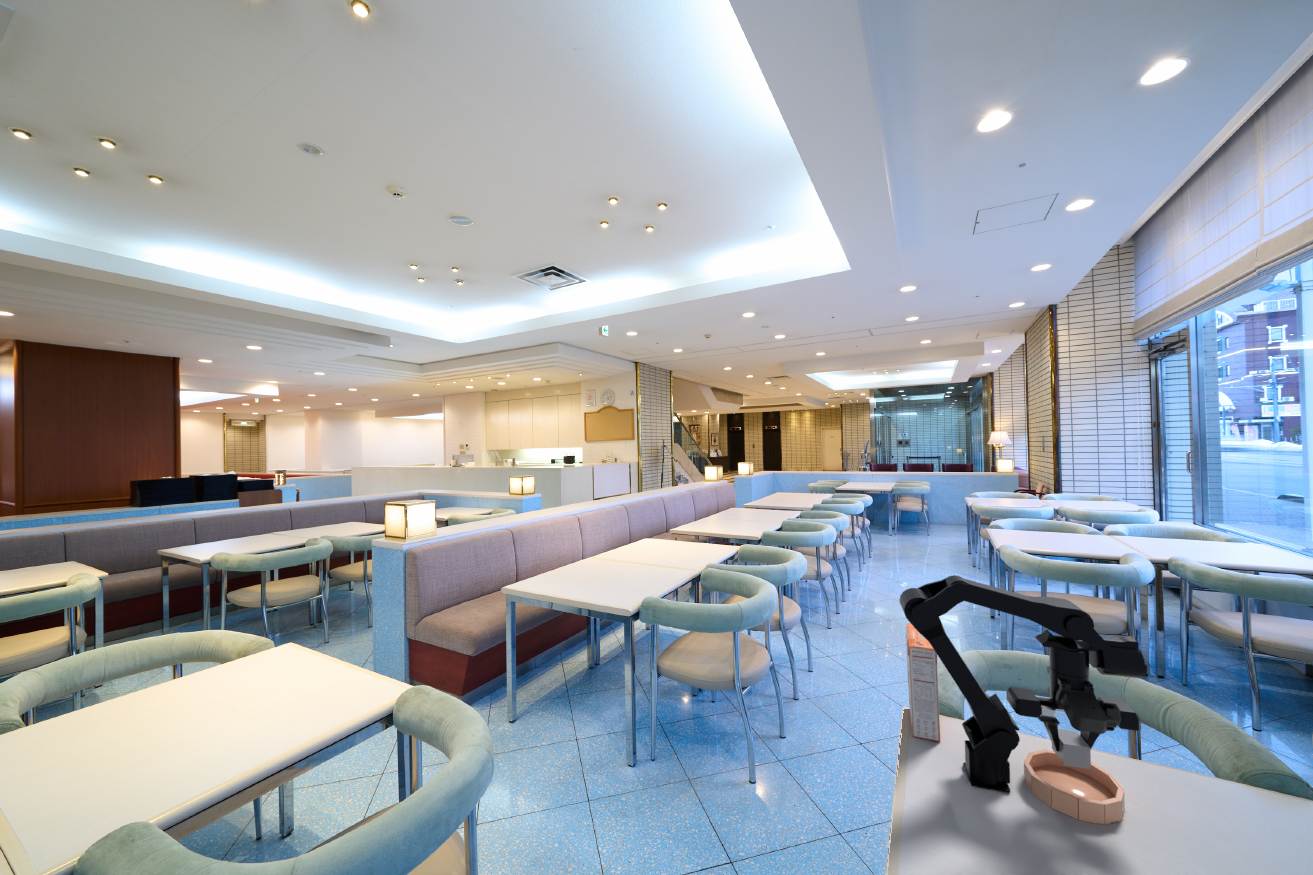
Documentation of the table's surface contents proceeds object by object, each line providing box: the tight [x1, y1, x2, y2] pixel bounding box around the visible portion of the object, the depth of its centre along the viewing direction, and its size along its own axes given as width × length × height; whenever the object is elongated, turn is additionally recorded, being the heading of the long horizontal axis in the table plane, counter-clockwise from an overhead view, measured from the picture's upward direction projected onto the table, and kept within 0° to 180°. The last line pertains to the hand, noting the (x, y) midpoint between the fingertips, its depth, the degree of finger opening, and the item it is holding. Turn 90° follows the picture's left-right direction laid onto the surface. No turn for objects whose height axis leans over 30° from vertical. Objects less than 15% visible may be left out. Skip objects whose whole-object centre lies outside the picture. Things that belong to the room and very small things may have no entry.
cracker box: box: [905, 623, 941, 743], centre depth 115 cm, size 14×6×21 cm, turn 155°
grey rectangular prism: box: [1051, 728, 1092, 769], centre depth 92 cm, size 4×5×4 cm
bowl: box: [1023, 749, 1126, 825], centre depth 92 cm, size 14×14×4 cm
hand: (1070, 751), depth 92 cm, fingers closed on grey rectangular prism, 4 cm apart
